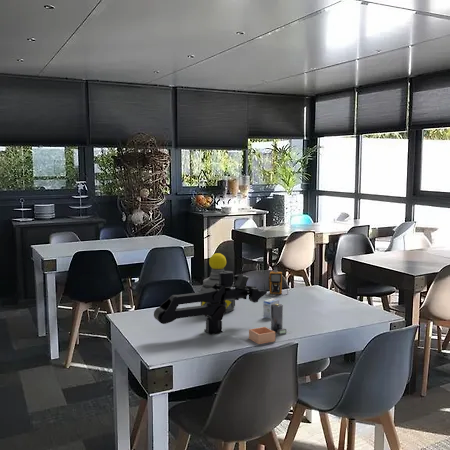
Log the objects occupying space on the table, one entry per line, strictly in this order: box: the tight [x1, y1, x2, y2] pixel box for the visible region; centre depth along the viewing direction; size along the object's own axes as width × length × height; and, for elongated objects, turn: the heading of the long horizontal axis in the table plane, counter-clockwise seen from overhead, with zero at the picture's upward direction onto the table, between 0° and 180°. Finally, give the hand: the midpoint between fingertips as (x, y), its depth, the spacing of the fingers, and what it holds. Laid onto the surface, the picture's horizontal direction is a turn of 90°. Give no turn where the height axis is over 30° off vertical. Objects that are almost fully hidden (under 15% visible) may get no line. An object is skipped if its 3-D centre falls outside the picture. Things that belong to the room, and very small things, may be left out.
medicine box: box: [262, 297, 280, 319], centre depth 247 cm, size 8×4×9 cm, turn 141°
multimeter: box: [263, 260, 289, 297], centre depth 293 cm, size 15×10×20 cm
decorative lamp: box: [200, 252, 236, 314], centre depth 262 cm, size 19×19×30 cm
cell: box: [270, 303, 284, 333], centre depth 222 cm, size 5×5×12 cm
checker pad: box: [269, 327, 293, 337], centre depth 223 cm, size 10×10×2 cm
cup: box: [248, 326, 276, 345], centre depth 211 cm, size 8×8×4 cm
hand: (261, 290), depth 234 cm, fingers open, 9 cm apart
